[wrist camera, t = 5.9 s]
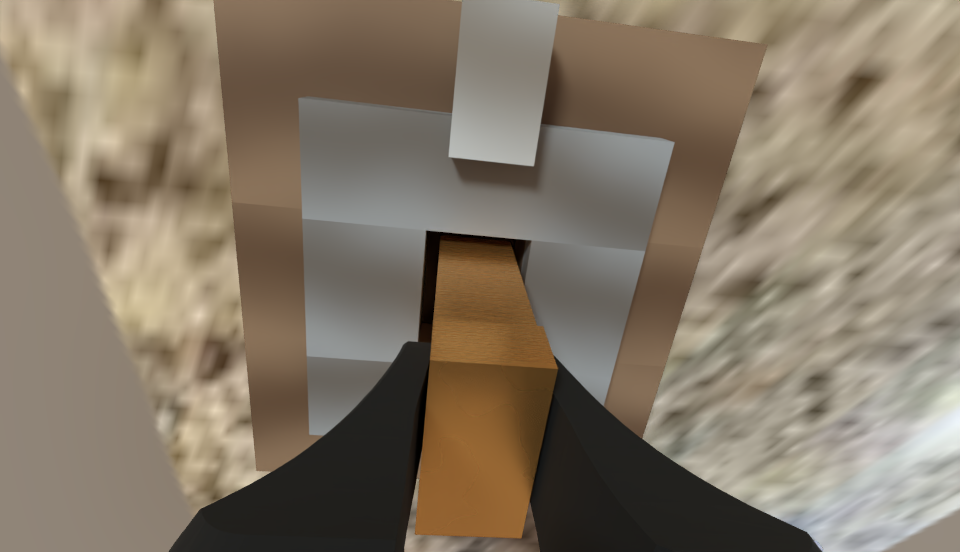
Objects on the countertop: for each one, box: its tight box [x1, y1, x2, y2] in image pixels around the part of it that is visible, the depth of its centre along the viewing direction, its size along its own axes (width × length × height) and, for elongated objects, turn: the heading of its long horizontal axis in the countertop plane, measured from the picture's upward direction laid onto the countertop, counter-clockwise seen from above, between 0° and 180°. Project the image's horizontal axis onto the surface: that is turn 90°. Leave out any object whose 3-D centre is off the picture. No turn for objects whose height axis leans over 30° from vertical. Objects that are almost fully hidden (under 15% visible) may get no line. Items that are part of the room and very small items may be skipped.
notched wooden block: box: [415, 235, 558, 538], centre depth 13 cm, size 5×2×8 cm, turn 173°
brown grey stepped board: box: [214, 0, 767, 479], centre depth 17 cm, size 18×16×4 cm
